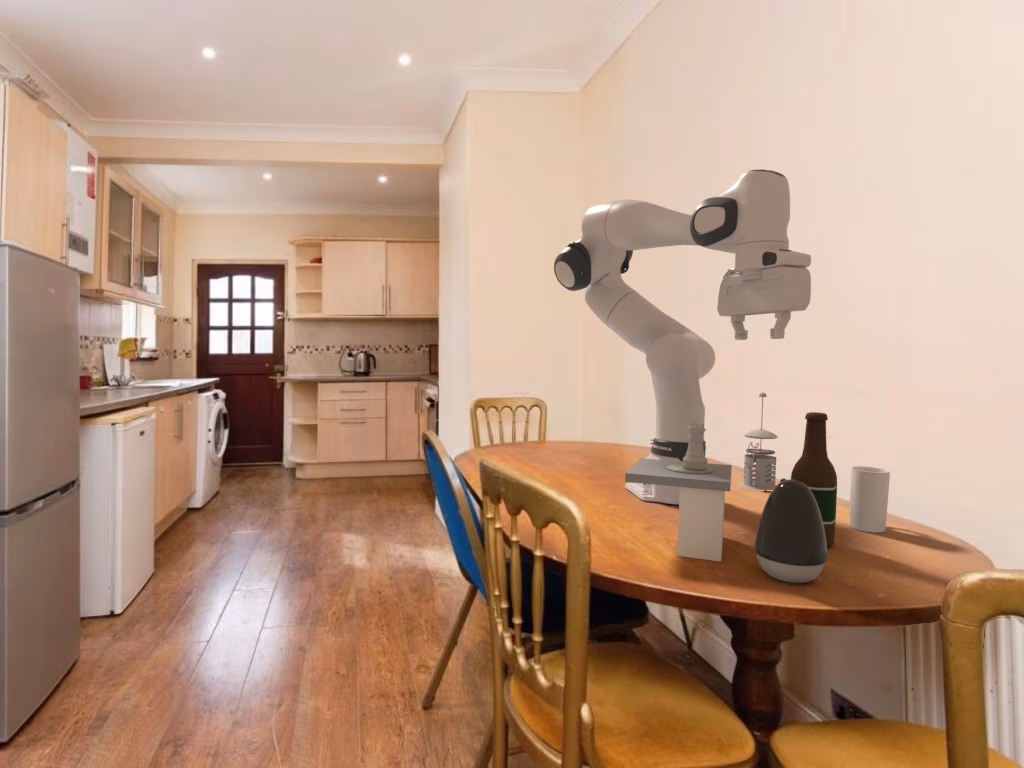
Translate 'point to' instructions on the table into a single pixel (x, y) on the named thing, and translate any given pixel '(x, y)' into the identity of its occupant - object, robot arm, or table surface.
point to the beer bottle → (818, 472)
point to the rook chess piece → (695, 449)
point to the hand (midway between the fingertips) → (758, 339)
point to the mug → (869, 498)
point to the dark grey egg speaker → (791, 534)
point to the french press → (759, 461)
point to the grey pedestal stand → (691, 502)
